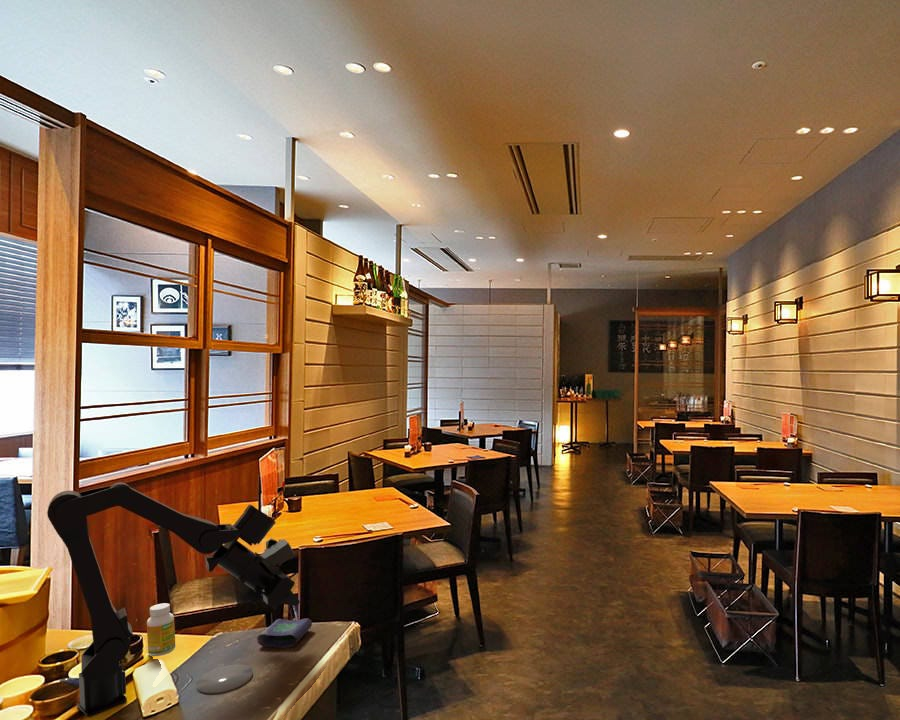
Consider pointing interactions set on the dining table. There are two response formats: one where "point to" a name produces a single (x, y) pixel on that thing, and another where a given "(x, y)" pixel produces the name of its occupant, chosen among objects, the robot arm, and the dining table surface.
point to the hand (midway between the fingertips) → (298, 603)
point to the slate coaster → (224, 679)
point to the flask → (284, 633)
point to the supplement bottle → (160, 630)
